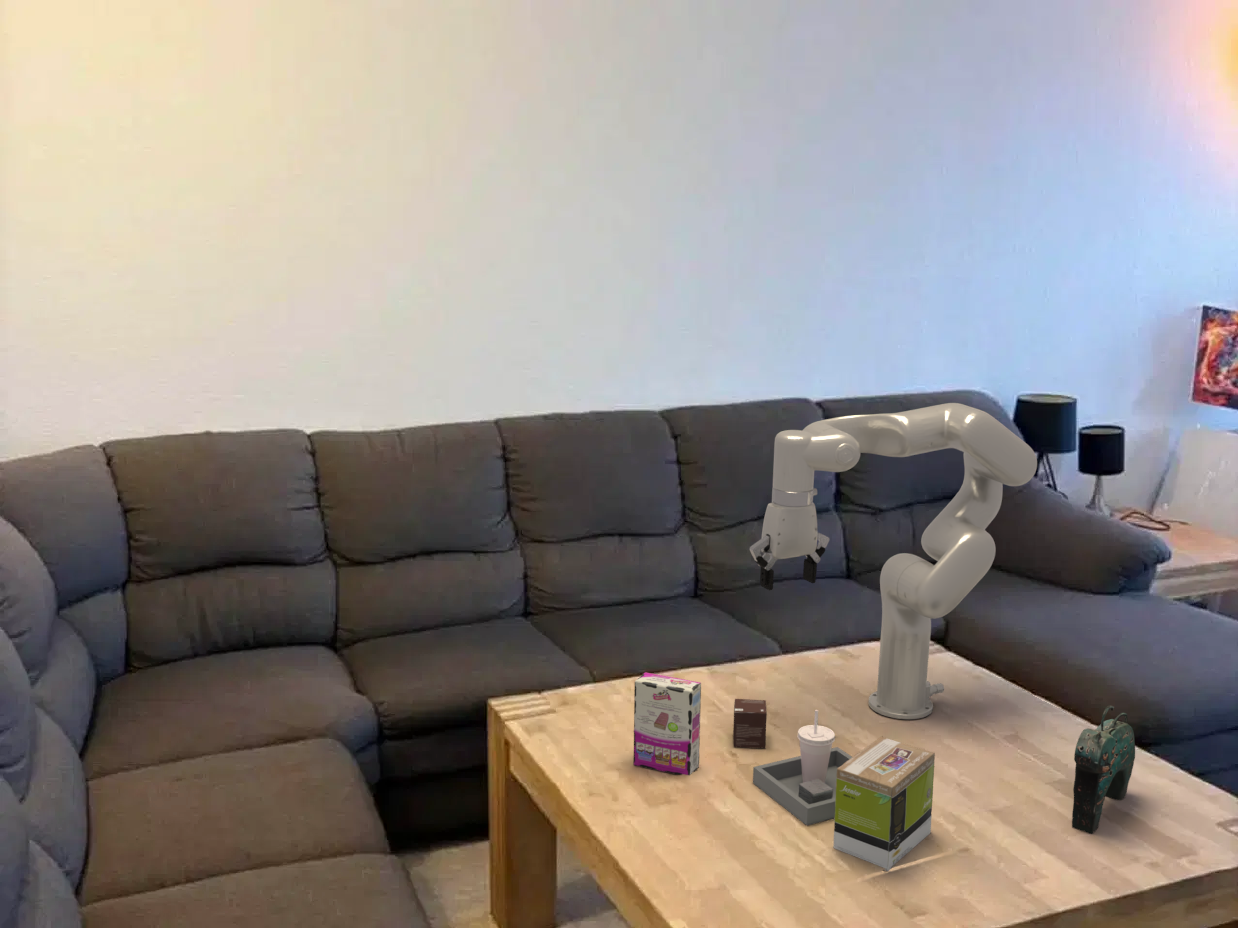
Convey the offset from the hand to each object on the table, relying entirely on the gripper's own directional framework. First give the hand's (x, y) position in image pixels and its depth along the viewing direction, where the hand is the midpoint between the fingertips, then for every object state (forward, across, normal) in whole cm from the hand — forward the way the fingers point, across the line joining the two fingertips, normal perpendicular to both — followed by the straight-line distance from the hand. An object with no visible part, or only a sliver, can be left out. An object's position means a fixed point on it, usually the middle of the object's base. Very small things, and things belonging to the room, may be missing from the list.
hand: (788, 584), depth 236 cm
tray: (+28, +10, +27) cm, 40 cm away
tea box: (+29, +11, +44) cm, 53 cm away
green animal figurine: (+29, -29, +52) cm, 66 cm away
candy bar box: (+28, +29, +6) cm, 41 cm away
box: (+29, +10, +4) cm, 31 cm away
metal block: (+28, +14, +31) cm, 44 cm away
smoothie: (+28, +10, +24) cm, 38 cm away
